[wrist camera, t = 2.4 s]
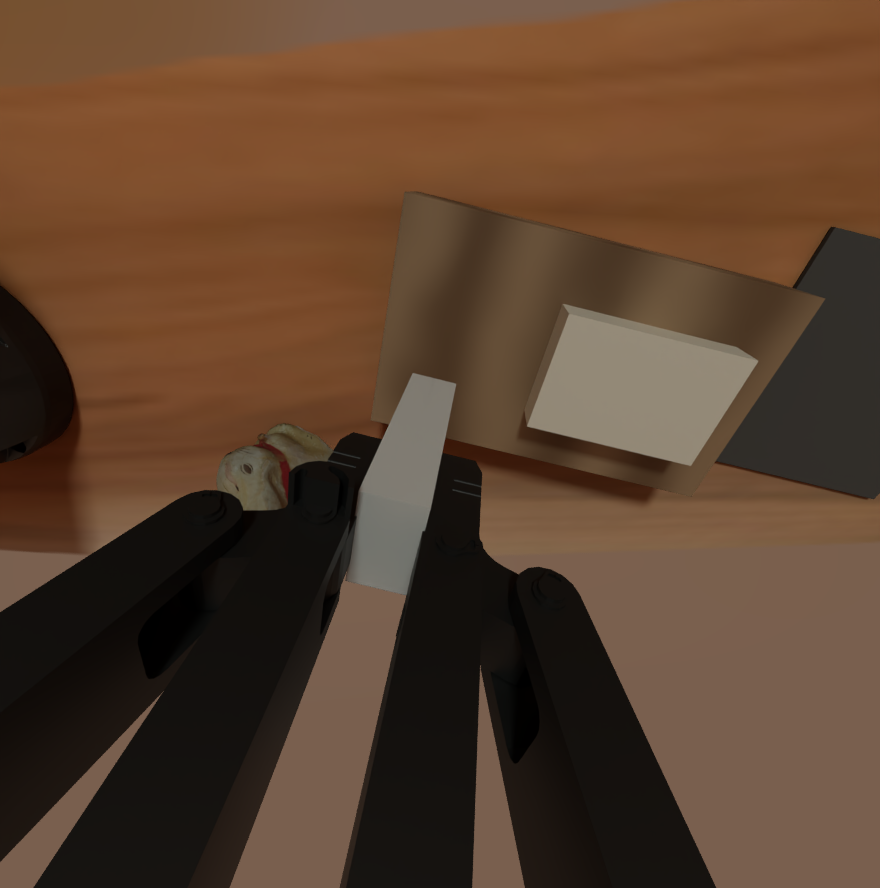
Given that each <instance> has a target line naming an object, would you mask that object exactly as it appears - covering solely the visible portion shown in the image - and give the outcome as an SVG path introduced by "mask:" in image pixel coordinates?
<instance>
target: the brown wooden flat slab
mask: <svg viewBox="0 0 880 888" xmlns="http://www.w3.org/2000/svg"><path fill="white" fill-rule="evenodd" d="M824 300H825V298H822V297H819V296H815V295H812V294H809V293H806V292H803V291H800V290H797V289H794V288H791V287H787V286H784V285H781V284H778V283H775V282H771V281H767V280H763V279H759V278H755V277H751V276H747V275H743V274H739V273H736V272H732V271H728V270H724V269H720V268H716V267H712V266H708V265H704V264H700V263H696V262H692V261H688V260H684V259H681V258H677V257H673V256H669V255H665V254H661V253H657V252H653V251H649V250H645V249H641V248H637V247H633V246H629V245H626V244H622V243H618V242H614V241H610V240H606V239H602V238H598V237H594V236H590V235H586V234H582V233H578V232H574V231H570V230H567V229H563V228H559V227H555V226H551V225H547V224H543V223H539V222H535V221H531V220H527V219H523V218H519V217H515V216H512V215H508V214H504V213H500V212H496V211H492V210H488V209H484V208H480V207H476V206H472V205H468V204H464V203H460V202H457V201H453V200H449V199H445V198H441V197H437V196H433V195H429V194H425V193H421V192H405V193H404V200H403V207H402V214H401V220H400V227H399V234H398V240H397V247H396V254H395V261H394V267H393V274H392V281H391V288H390V294H389V301H388V308H387V314H386V321H385V328H384V335H383V341H382V348H381V355H380V361H379V368H378V375H377V382H376V388H375V395H374V402H373V409H372V415H371V420H373V421H377V422H381V423H385V424H390V422H391V419H392V417H393V415H394V413H395V411H396V408H397V406H398V404H399V402H400V400H401V398H402V395H403V393H404V391H405V389H406V387H407V385H408V382H409V380H410V378H411V376H412V374H413V373H415V374H419V375H423V376H427V377H431V378H435V379H439V380H443V381H447V382H451V383H455V384H456V388H455V393H454V398H453V403H452V408H451V412H450V417H449V422H448V427H447V432H446V437H445V438H448V439H452V440H456V441H460V442H464V443H469V444H473V445H477V446H481V447H485V448H490V449H494V450H498V451H502V452H506V453H510V454H515V455H519V456H523V457H527V458H531V459H536V460H540V461H544V462H548V463H552V464H556V465H561V466H565V467H569V468H573V469H577V470H582V471H586V472H590V473H594V474H598V475H602V476H607V477H611V478H615V479H619V480H623V481H627V482H632V483H636V484H640V485H644V486H648V487H653V488H657V489H661V490H665V491H669V492H673V493H678V494H682V495H686V496H690V497H692V495H693V494H694V492H695V491H696V489H697V488H698V486H699V485H700V483H701V482H702V480H703V479H704V477H705V476H706V474H707V473H708V471H709V470H710V469H711V467H712V466H713V464H714V463H715V461H716V460H717V458H718V457H719V455H720V454H721V452H722V451H723V449H724V448H725V446H726V445H727V443H728V442H729V440H730V439H731V438H732V436H733V435H734V433H735V432H736V430H737V429H738V427H739V426H740V424H741V423H742V421H743V420H744V418H745V417H746V415H747V414H748V412H749V411H750V409H751V408H752V407H753V405H754V404H755V402H756V401H757V399H758V398H759V396H760V395H761V393H762V392H763V390H764V389H765V387H766V386H767V384H768V383H769V381H770V380H771V378H772V377H773V376H774V374H775V373H776V371H777V370H778V368H779V367H780V365H781V364H782V362H783V361H784V359H785V358H786V356H787V355H788V353H789V352H790V350H791V349H792V348H793V346H794V345H795V343H796V342H797V340H798V339H799V337H800V336H801V334H802V333H803V331H804V330H805V328H806V327H807V325H808V324H809V322H810V321H811V319H812V318H813V317H814V315H815V314H816V312H817V311H818V309H819V308H820V306H821V305H822V303H823V302H824ZM562 304H566V305H570V306H574V307H578V308H582V309H586V310H590V311H594V312H598V313H602V314H606V315H610V316H614V317H618V318H622V319H626V320H630V321H634V322H638V323H642V324H646V325H650V326H654V327H658V328H662V329H666V330H670V331H674V332H678V333H682V334H686V335H690V336H694V337H698V338H702V339H706V340H710V341H714V342H718V343H722V344H726V345H730V346H734V347H737V348H739V349H741V350H742V351H744V352H745V353H747V354H748V355H750V356H752V357H753V358H755V359H756V360H758V363H757V364H756V366H755V367H754V369H753V370H752V372H751V374H750V375H749V377H748V378H747V380H746V381H745V383H744V384H743V386H742V388H741V389H740V391H739V392H738V394H737V395H736V397H735V398H734V400H733V401H732V403H731V405H730V406H729V408H728V409H727V411H726V412H725V414H724V415H723V417H722V419H721V420H720V422H719V423H718V425H717V426H716V428H715V429H714V431H713V432H712V434H711V436H710V437H709V439H708V440H707V442H706V443H705V445H704V446H703V448H702V450H701V451H700V453H699V454H698V456H697V457H696V459H695V460H694V462H693V463H692V465H691V466H689V465H685V464H681V463H676V462H672V461H668V460H664V459H660V458H656V457H652V456H647V455H643V454H639V453H635V452H631V451H627V450H623V449H618V448H614V447H610V446H606V445H602V444H598V443H593V442H589V441H585V440H581V439H577V438H573V437H569V436H564V435H560V434H556V433H552V432H548V431H544V430H540V429H535V428H531V427H527V423H526V417H525V411H524V409H525V406H526V404H527V401H528V398H529V395H530V393H531V390H532V387H533V384H534V381H535V379H536V376H537V373H538V370H539V368H540V365H541V362H542V359H543V357H544V354H545V351H546V348H547V345H548V343H549V340H550V337H551V334H552V332H553V329H554V326H555V323H556V321H557V318H558V315H559V312H560V310H561V307H562Z"/></svg>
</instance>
